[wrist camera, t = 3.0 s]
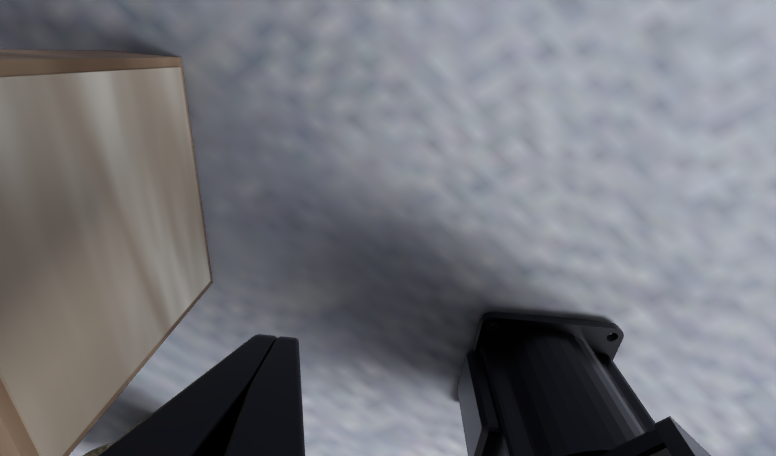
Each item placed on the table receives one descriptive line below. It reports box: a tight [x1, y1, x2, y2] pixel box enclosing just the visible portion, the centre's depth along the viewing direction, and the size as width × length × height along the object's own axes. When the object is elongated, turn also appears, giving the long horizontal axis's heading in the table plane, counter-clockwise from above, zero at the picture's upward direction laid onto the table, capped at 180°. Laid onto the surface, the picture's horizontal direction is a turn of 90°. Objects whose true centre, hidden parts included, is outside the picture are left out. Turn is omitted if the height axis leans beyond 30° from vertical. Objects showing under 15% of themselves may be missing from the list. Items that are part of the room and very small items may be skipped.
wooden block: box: [0, 49, 212, 456], centre depth 11 cm, size 3×10×9 cm, turn 175°
